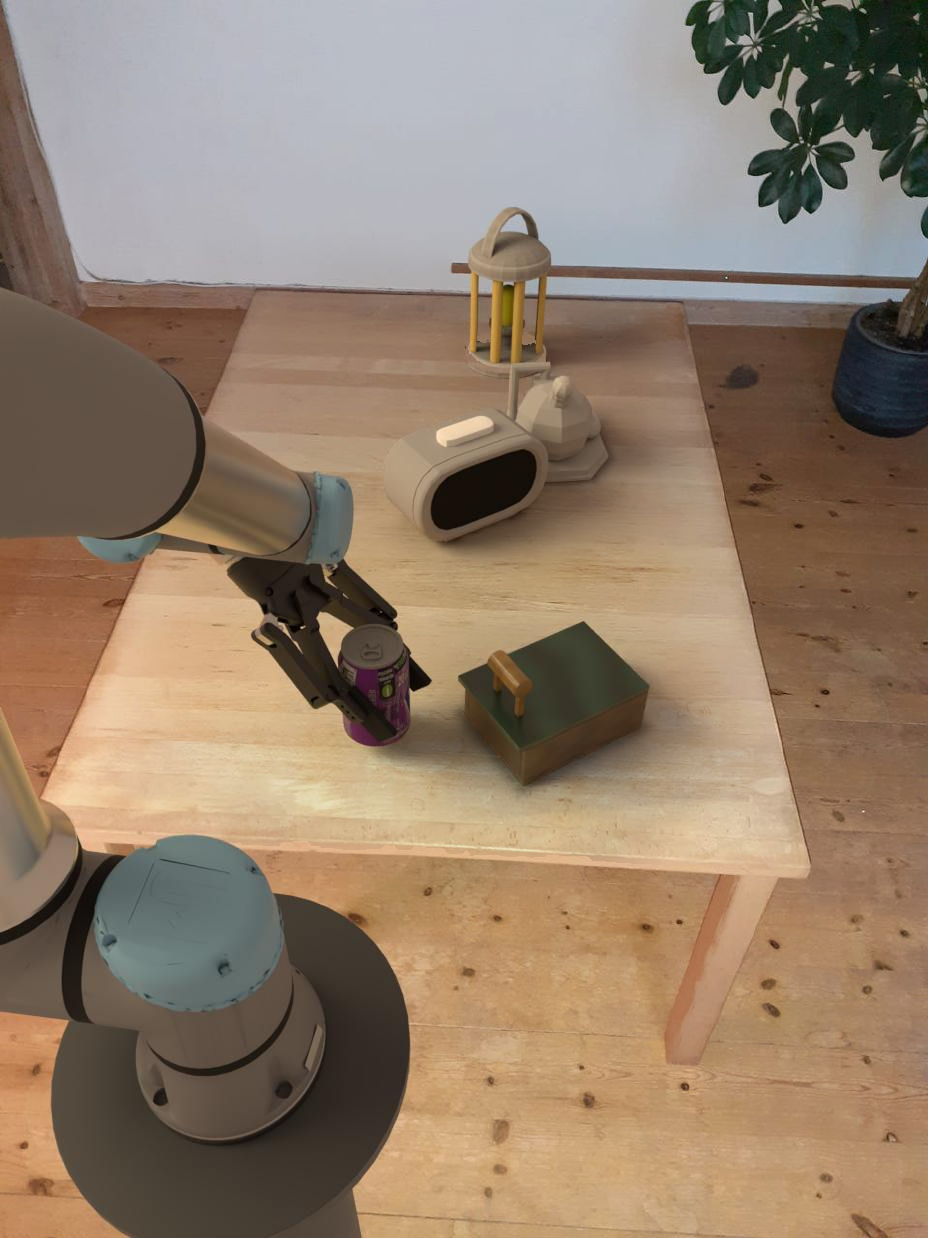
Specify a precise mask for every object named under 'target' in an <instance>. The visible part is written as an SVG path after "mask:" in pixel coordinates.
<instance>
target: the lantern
mask: <svg viewBox="0 0 928 1238" xmlns="http://www.w3.org/2000/svg"><path fill="white" fill-rule="evenodd" d="M516 215H520V216H521V217H522V219H523V221H524V222H525V227H526V230H527V231H526V232H527V233H524V232H521V231H514V230H513V231H509V230H508V231H507V230H506V231H502V229H503V227H504V226H505V225H506V224H507V222H508V221H509V220H510V219H512V218H513V217H515V216H516ZM539 237H540V236H539V232H538V227H537V223H536V221H535V220H534V218H533V216H532V215H531V214H530V213H529V212H528V211H526V210H525V209H523V208H520V207H517V206H508V207H506V208H503V210H500V212H498V213H497V215H496V216H495V218H493V220H492V221H491V222H490V225H489V226H488V229H487V230H486V233H485V236H484V237H482V238H480V239H479V240H478V241H477V242H476V243H474V245H472V246H471V247H470V249H469V251H468V258H467V260H468V261H467V266H468V268H469V270H470V271H471V272H470V325H469V326H470V328H469V329H470V330H469V331H470V332H469V340H470V343H469V346H468V350H469V354H472V356H474V358H476V360H477V361H480V362H481V363H483V364H486V365H487V366H491V367H497V368H511V363H531V362H536V361H537V360H538V359H539V358H540V357H541V356H542V354H544V349H543V345H542V342H543V340H544V325H545V312H546V311H545V310H546V296H547V285H548V284H547V282H548V273H549V271H550V270H551V269H552V252H551V251H550V249H549V248H548V247H547V246H546V245H545V243H543V242H542V241H541V240H539ZM480 277H481V278H484V279H487V280H490V281H492V291H491V292H492V293H491V295H492V296H491V317H490V318H489V321H488V322H489V323H488V326H489V328H490V329H489V330H491V342H486V343H482V342H480V341H477V334H478V328H479V327H478V323H479V322H478V320H479V284H480V283H479V282H480V281H479V279H480ZM536 279H538V286H537V287H538V288H537V289H538V290H537V291H538V292H537V304H536V319H535V331H534V332H535V333H534V334H535V335H534V336H535V340H536V344H535V343H532V344H531V345H530V344H528V345H523V344H522V335H523V331H524V328H525V327H526V326H525V324H526V320H525V319H524V315H525V314H524V313H525V296H526V282H529V281H532V280H533V281H534V280H536ZM504 283H507V284H504ZM509 283H513V284H509ZM487 341H489V340H487ZM466 365H467V366H468V365H469V364H466ZM468 368H470V369H472V370H473V371H474V372H476V373H478V374H481V375H484V376H486V377H491V378H497V379H509V377H510V373H498V372H493V371H488V370H484V369H482V368H479V367H477V366H468ZM534 374H537V372H529V373H519V378H524V377H528V376H530V375H534Z"/></svg>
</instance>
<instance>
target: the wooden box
mask: <svg viewBox="0 0 928 1238" xmlns="http://www.w3.org/2000/svg"><path fill="white" fill-rule="evenodd" d="M648 696H649V691H647V692H645V693H643V694H641V695H639V696H637V697H635V698H633V699H631V700H628V701H626V702H624V703H622V704H620V705H618V706H616V707H614V708H612V709H610V710H608V711H606V712H604V713H602V714H600V715H598V716H596V717H594V718H591V719H589V720H587V721H585V722H583V723H581V724H579V725H577V726H575V727H573V728H571V729H569V730H567V731H565V732H563V733H561V734H559V735H556V736H554V737H552V738H550V739H548V740H546V741H544V742H542V743H540V744H538V745H536V746H534V747H532V748H530V749H528V750H526V751H524V752H522V753H518V752H517V751H516V749H515V748H514V747H513V746H512V745H511V743H510V742H509V741H508V740H507V739H506V738H505V736H504V735H503V734H502V733H501V732H500V730H499V729H498V728H497V727H496V726H495V724H494V723H493V722H492V721H491V720H490V718H489V717H488V716H487V715H486V714H485V712H484V711H483V710H482V709H481V708H480V706H479V705H478V704H477V703H476V702H475V700H474V699H473V698H472V697H471V696H470V694H469V693H468V692H467V691H466V690H465V689H464V716H465V717H466V718H467V719H468V720H469V721H470V723H471V724H472V725H473V726H474V728H476V730H477V731H478V733H479V734H480V735H481V736H482V738H484V740H485V741H486V742H487V743H488V745H489V746H490V747H491V748H492V750H493V751H494V752H495V754H496V755H497V756H498V758H500V759H501V761H502V763H504V765H505V766H506V767H507V768H508V770H509V771H510V772H511V773H512V774H513V775H514V777H515V778H516V779H517V780H518V782H519V783H520V784H521V786H523V787H525V786H527V785H529V784H531V783H533V782H535V781H538V780H539V779H541V778H543V777H545V776H546V775H547V776H548V775H549V774H551V773H553V772H555V771H557V770H559V769H562V768H563V767H564V766H567V765H569V764H571V763H573V762H574V761H577V760H578V759H580V758H583V757H585V756H587V755H588V754H591V753H593V752H594V751H596V750H598V749H600V748H603V747H604V746H606V745H608V744H611V743H612V742H614V741H616V740H619V739H620V738H623V737H624V736H626V735H628V734H631V733H632V732H634V731H636V730H638V729H640V728H642V725H643V720H644V715H645V709H646V705H647V701H648Z"/></svg>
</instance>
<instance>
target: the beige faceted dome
mask: <svg viewBox="0 0 928 1238" xmlns="http://www.w3.org/2000/svg"><path fill="white" fill-rule="evenodd" d="M551 369H552V368H551V361H547V362H531V363H511V369H510V377H509V378H508V379H509V380H508V396H507V397H508V399H507V410H506V413H505V414H506V415H508V416H509V417H510V418H511V419H513V420H514V421H515V422H517V423H518V424H519V425H521V426H522V427H523V428H524V429H526V430H527V431H528V432H530V433H531V434H532V435H533V436H535V437H536V438H537V439H539V440H540V441H541V442H542V444H543V445H544V446H545V447H546V450H547V454H548V471H547V477H546V480H545V483H556V482H557V483H559V482H576V481H577V482H579V481H590V480H592V479H593V478H594V476H595V475H596V474H597V472H598V471H599V470H600V469H601V467H602V466H603V465H605V463H606V461H607V460H608V459H609V453H608V451H607V448H606V446H605V444H604V442H603V439H602V437H601V434H600V432H601V429H602V423H601V420H600V418H599V416H598V414H597V413H596V411H595V409H594V408H593V406H592V404H591V403H590V401H589V399H588V398H587V397H586V395H585V394H584V393H583V392H581V391H580V390H579V389H578V388H576V387H575V382H574V381H573V379H572V378H571V377H570V376H566V375H563V374H561V375H560V376H556V375H554V374H552V370H551ZM529 372H536V373H535V375H534V376H532V380H531V381H532V382H531V383H532V384H531V387H530V388H528V389H527V390H526V391H525V392H524V393H523V400H522V401H521V403H519V389H520V388H519V387H520V386H519V385H520V377H519V373H529ZM518 403H519V404H518Z"/></svg>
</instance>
